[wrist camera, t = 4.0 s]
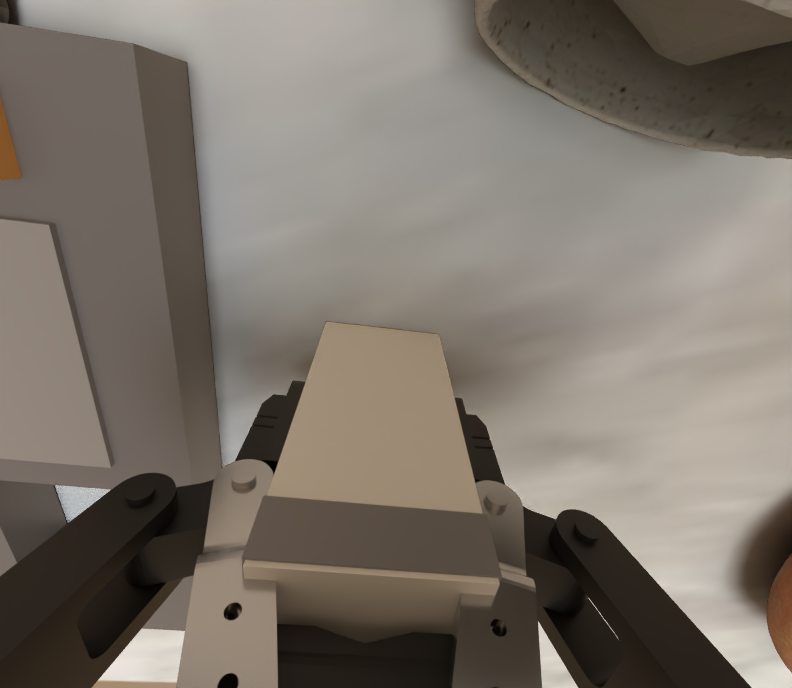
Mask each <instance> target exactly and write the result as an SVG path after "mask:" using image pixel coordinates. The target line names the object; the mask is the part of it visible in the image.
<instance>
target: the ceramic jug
mask: <svg viewBox="0 0 792 688" xmlns="http://www.w3.org/2000/svg"><path fill="white" fill-rule="evenodd" d="M767 624H768V630H769V633H770V636H771V639H772V641H773V644H774V646H775V648H776V650H777V652H778V654H779V656H780V657H781V659H782V660H783V662H784V663H785V665H786V666H787V668H788V669H789V670H790V671H791V672H792V553H791V554H790V556H789V557H788V558H787V559H786V561H785V563H784V564H783V566H782V567H781V569H780V570H779V572H778V573H777V575H776V577H775V580H774V582H773V584H772V587H771V590H770V593H769V597H768V603H767Z"/></svg>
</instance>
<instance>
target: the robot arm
mask: <svg viewBox="0 0 792 688" xmlns="http://www.w3.org/2000/svg"><path fill="white" fill-rule="evenodd" d="M304 385H305V382H302V381H292V383H291V386H290V388H289V391H288V393H287V396H284V395H272V396H271V397H270V398H269V399H267V400H266V401H265V402H264V403H262V405H261V407H260V410H259V412H258V414H257V417H256V418H255V420H254V422H253V425H252V427H251V429H250V431H249V433H248V435H247V437H246V439H245V441H244V443H243V446H242V448H241V450H240V452H239V454H238V456H237V458H236V460H235V462H233V463H230V464H228V465H226V466H225V467H224V468H222V469H221V470H220V471H219V472H218V473H217V475H216V476H215V478H214V479H213V480H210V481H207V482H204V483H199V484H193V485H187V486H180V487H176V485H175V482H174V481H173V479H172V478H171V477H169V476H167V475H165V474H162V473H144V474H140V475H136V476H133V477H131V478H129V479H126V480H125V481H123V482H121V483H120V484H118V485H117V486H116V487H114V488H113V489H112V490H110V491H109V492H108V493H107V494H105V495H104V496H103V497H101V498H100V499H99V500H98V501H96V502H95V503H94V504H92V505H91V506H90V507H89V508H87V509H86V510H85V511H83V512H82V513H81V514H80V515H78V516H77V517H76V518H74V519H73V520H72V521H71V522H69V523H68V524H67V525H65V526H64V527H63V528H62V529H60V530H59V531H58V532H56V533H55V534H54V535H53V536H51V537H50V538H49V539H47V540H46V541H45V542H44V543H42V544H41V545H40V546H38V547H37V548H36V549H35V550H33V551H32V552H31V553H29V554H28V555H27V556H26V557H24V558H23V559H22V560H20V561H19V562H18V563H17V564H15V565H14V566H13V567H11V568H10V569H9V570H8V571H6V572H5V573H4V574H2V575H1V576H0V688H91V687H92V686H93V685H94V684H95V683H96V682H97V681H98V679H99V678H100V677H101V676H102V675H103V673H104V672H105V671H106V670H107V669H108V668H109V666H110V665H111V664H112V663H113V662H114V660H115V659H116V658H117V657H118V656H119V654H120V653H121V652H122V651H123V650H124V649H125V647H126V646H127V645H128V644H129V643H130V641H131V640H132V639H133V638H134V637H135V636H136V634H137V633H138V632H139V631H140V630H141V628H142V627H143V626H144V625H145V624H146V623H147V621H148V620H149V619H150V618H151V617H152V615H153V614H154V613H155V612H156V611H157V610H158V608H159V607H160V606H161V605H162V604H163V602H164V601H165V600H166V599H167V598H168V596H169V595H170V594H171V593H172V592H173V591H174V589H175V588H176V587H177V586H178V585H179V583H180V582H181V581H182V580H183V578H185V577H189V576H193V575H194V578H193V584H192V591H191V597H190V603H189V610H188V616H187V622H186V629H185V635H184V641H183V648H182V654H181V660H180V667H179V673H178V679H177V686H176V688H542V680H541V664H540V648H539V633H538V621H539V623H540V624H541V626H542V628H543V629H544V631H545V633H546V634H547V636H548V638H549V639H550V641H551V643H552V644H553V646H554V648H555V649H556V651H557V653H558V654H559V656H560V658H561V659H562V661H563V663H564V664H565V666H566V668H567V669H568V671H569V673H570V674H571V676H572V678H573V679H574V681H575V683H576V684H577V686H578V688H751V687H750V685H749V684H748V683H747V682H746V681H745V680H744V679H743V678H742V677H741V675H740V674H739V673H738V672H737V671H736V670H735V669H734V668H733V667H732V665H731V664H730V663H729V662H728V661H727V660H726V659H725V658H724V657H723V655H722V654H721V653H720V652H719V651H718V650H717V649H716V648H715V647H714V645H713V644H712V643H711V642H710V641H709V640H708V639H707V638H706V637H705V635H704V634H703V633H702V632H701V631H700V630H699V629H698V628H697V627H696V625H695V624H694V623H693V622H692V621H691V620H690V619H689V618H688V617H687V615H686V614H685V613H684V612H683V611H682V610H681V609H680V608H679V607H678V605H677V604H676V603H675V602H674V601H673V600H672V599H671V598H670V597H669V595H668V594H667V593H666V592H665V591H664V590H663V589H662V588H661V587H660V586H659V584H658V583H657V582H656V581H655V580H654V579H653V578H652V577H651V576H650V574H649V573H648V572H647V571H646V570H645V569H644V568H643V567H642V566H641V564H640V563H639V562H638V561H637V560H636V559H635V558H634V557H633V556H632V554H631V553H630V552H629V551H628V550H627V549H626V548H625V547H624V546H623V544H622V543H621V542H620V541H619V540H618V539H617V538H616V537H615V536H614V534H613V533H612V532H611V531H610V530H609V529H608V528H607V527H606V526H605V525H604V524H603V523H602V522H601V521H600V520H598V519H597V518H595V517H594V516H592V515H590V514H588V513H586V512H583V511H580V510H572V509H570V510H565V511H563V512H561V513H560V514H559V515H558V517H557V519H553V518H550V517H547V516H544V515H542V514H539V513H536V512H533V511H531V510H529V509H527V508H525V507H524V506H523V505H522V502H521V500H520V498H519V497H518V495H517V494H516V493H515V492H514V491H513V490H512V489H510V488H509V487H507V486H506V485H505V483H504V480H503V477H502V474H501V471H500V468H499V465H498V462H497V459H496V456H495V453H494V450H493V446H492V443H491V440H490V437H489V434H488V431H487V428H486V426H485V425H484V423H483V422H482V421H481V420H480V419H479V418H478V417H477V416H476V415H469V414H466V412H465V408H464V404H463V401H462V399H461V398H455V402H456V406H457V410H458V414H459V419H460V423H461V427H462V431H463V435H464V439H465V443H466V447H467V451H468V456H469V460H470V464H471V468H472V472H473V476H474V480H475V484H476V488H477V493H478V497H479V501H480V505H481V509H482V513H483V514H486V515H487V519H488V523H489V526H490V530H491V534H492V538H493V542H494V546H495V550H496V554H497V558H498V562H499V566H500V570H501V574H502V578H501V580H500V585H499V587H498V590H497V592H496V595H495V596H493V595H479V594H464V593H462V594H461V597H460V600H459V603H458V606H457V609H456V612H455V615H454V630H453V634H440V633H423V632H411V633H407V634H403V635H399V636H394V637H390V638H386V639H382V640H378V641H374V642H369V643H362V642H359V641H356V640H353V639H350V638H348V637H345V636H342V635H339V634H337V633H334V632H331V631H328V630H326V629H323V628H320V627H317V626H308V625H292V624H277V611H276V581H274V580H260V579H245V578H244V575H243V572H242V555H243V552H244V549H245V546H246V544H247V541H248V538H249V535H250V532H251V529H252V526H253V524H254V521H255V518H256V515H257V512H258V509H259V506H260V504H261V501H262V498H263V495H266V496H267V494H268V491H269V488H270V485H271V482H272V479H273V476H274V473H275V470H276V468H277V465H278V462H279V459H280V456H281V453H282V450H283V447H284V444H285V441H286V438H287V435H288V432H289V429H290V426H291V424H292V421H293V418H294V415H295V412H296V409H297V406H298V403H299V400H300V397H301V394H302V391H303V388H304ZM588 598H590V600H591V601H592V602H593V604H594V605H595V607H596V608H597V609H598V611H599V612H600V613H601V615H602V616H603V617H604V619H605V620H606V622H607V623H608V624H609V626H610V627H611V628H612V630H613V631H614V632H615V634H616V635H617V637H618V638H617V637H616V636H615V634H614V633H613V631H612V630H611V629H610V627H609V626H608V625H607V623H606V622H605V620H604V619H603V618H602V616H601V615H600V614H599V612H598V611H597V610H596V608H595V607H594V605H593V604H592V603H591V601H590V600H589V599H588ZM618 639H619V640H618Z"/></svg>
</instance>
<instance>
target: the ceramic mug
mask: <svg viewBox="0 0 792 688" xmlns="http://www.w3.org/2000/svg"><path fill="white" fill-rule="evenodd" d="M474 15H475V21H476V25H477V28H478V31H479V33H480V36H481V37H482V38H483V39H484V41H485V42H486V44H487V45H488V46H489V47H490V48H491V49H492V50H493V52H494V53H495V54H496V55H497V56H498V58H499V59H500V60H501V61H502V62H503V63H505V64H506V65H507V66H508V67H509V68H510V69H511V70H512V71H513V72H515V73H516V74H517V75H518V76H520V77H521V78H522V79H523V80H525V81H526V82H527V83H529V84H531V85H533V86H535V87H537V88H540V89H541V90H543V91H545V92H547V93H549V94H550V95H552V96H554V97H555V98H556V99H558V100H559V101H561V102H563V103H564V104H566V105H568V106H570V107H573V108H575V109H577V110H580V111H582V112H585V113H587V114H589V115H592V116H594V117H596V118H599V119H600V120H602V121H604V122H607V123H611V124H616V125H618V126H620V127H621V128H624V129H628V130H631V131H635V132H638V133H642V134H645V135H648V136H651V137H654V138H657V139H660V140H663V141H668V142H672V143H677V144H681V145H685V146H688V147H692V148H696V149H699V150H704V151H717V152H726V153H730V154H734V155H739V156H762V157H765V158H786V159H792V0H475V10H474Z"/></svg>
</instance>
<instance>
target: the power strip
mask: <svg viewBox="0 0 792 688" xmlns="http://www.w3.org/2000/svg"><path fill="white" fill-rule="evenodd" d="M8 21H9V8H8V4H7V0H0V576H1V575H2V574H4V573H5V572H6V571H8V570H9V569H10V568H11V567H13V566H14V565H15V564H17V563H18V562H19V561H20V560H22V559H23V558H24V557H26V556H27V555H28V554H29V553H31V552H32V551H33V550H35V549H36V548H37V547H38V546H40V545H41V544H42V543H44V542H45V541H46V540H47V539H49V538H50V537H51V536H53V535H54V534H55V533H56V532H58V531H59V530H60V529H62V528H63V527H64V526H65V525H67V522H66V519H65V516H64V514H63V511H62V508H61V505H60V502H59V499H58V497H57V494H56V491H55V488H54V485H64V486H76V487H88V488H101V489H113V488H114V487H116V486H117V485H118V484H120V483H121V482H123V481H125V480H126V479H129V478H131V477H133V476H136V475H140V474H144V473H162V474H165V475H167V476H169V477H171V478H172V479H173V481H174V482H175V485H176V487H180V486H187V485H193V484H199V483H204V482H207V481H210V480H213V479H214V478H215V476H216V475H217V473H218V472H219V471H220V470H221V469H222V462H221V451H220V439H219V428H218V416H217V405H216V393H215V382H214V370H213V359H212V347H211V336H210V324H209V313H208V302H207V290H206V279H205V267H204V256H203V244H202V233H201V221H200V210H199V198H198V187H197V175H196V164H195V152H194V141H193V129H192V118H191V106H190V95H189V83H188V72H187V62H184V61H181V60H178V59H176V58H173V57H170V56H167V55H164V54H161V53H158V52H156V51H153V50H150V49H147V48H144V47H141V46H139V45H136V44H133V43H126V42H120V41H114V40H107V39H101V38H95V37H89V36H82V35H76V34H70V33H63V32H57V31H51V30H44V29H38V28H32V27H25V26H19V25H13V24H7V23H8ZM193 578H194V575H193V576H189V577H185V578H183V580H182V581H181V582H180V583H179V585H178V586H177V587H176V588H175V589H174V591H173V592H172V593H171V594H170V595H169V596H168V598H167V599H166V600H165V601H164V602H163V604H162V605H161V606H160V607H159V608H158V610H157V611H156V612H155V613H154V614H153V615H152V617H151V618H150V619H149V620H148V621H147V623H146V624H145V625H144V626H143V627H142V628H146V629H163V630H180V631H185V629H186V622H187V616H188V610H189V603H190V597H191V591H192V584H193Z"/></svg>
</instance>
